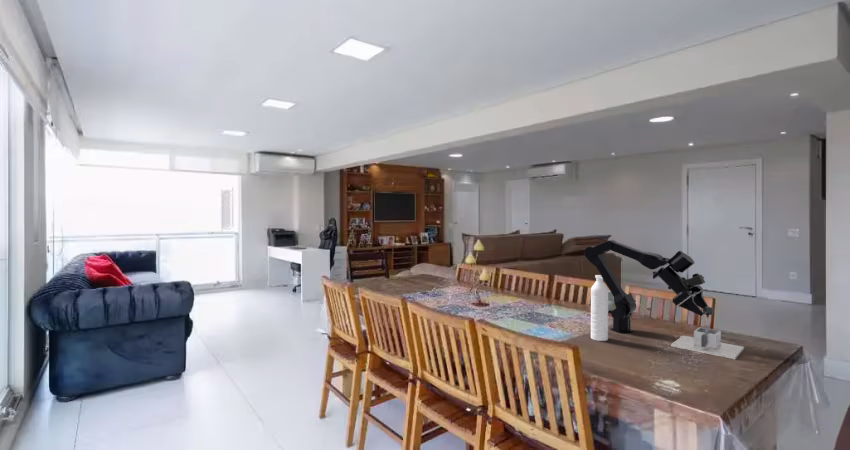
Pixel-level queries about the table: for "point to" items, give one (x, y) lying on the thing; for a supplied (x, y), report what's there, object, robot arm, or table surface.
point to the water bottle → (599, 310)
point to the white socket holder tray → (708, 344)
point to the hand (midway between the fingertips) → (705, 312)
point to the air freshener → (610, 301)
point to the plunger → (707, 316)
